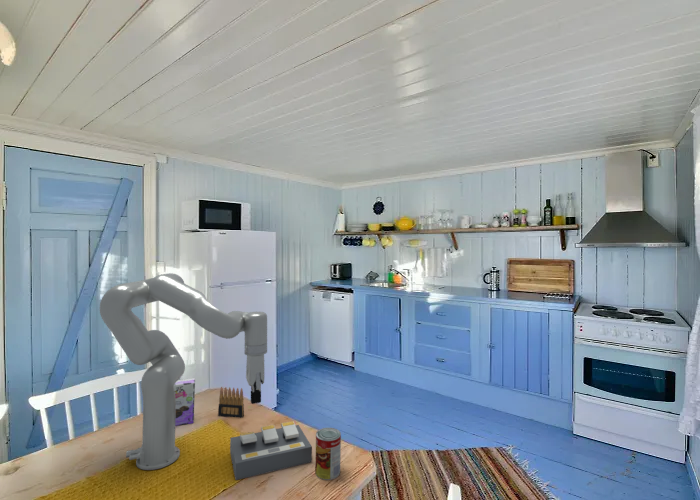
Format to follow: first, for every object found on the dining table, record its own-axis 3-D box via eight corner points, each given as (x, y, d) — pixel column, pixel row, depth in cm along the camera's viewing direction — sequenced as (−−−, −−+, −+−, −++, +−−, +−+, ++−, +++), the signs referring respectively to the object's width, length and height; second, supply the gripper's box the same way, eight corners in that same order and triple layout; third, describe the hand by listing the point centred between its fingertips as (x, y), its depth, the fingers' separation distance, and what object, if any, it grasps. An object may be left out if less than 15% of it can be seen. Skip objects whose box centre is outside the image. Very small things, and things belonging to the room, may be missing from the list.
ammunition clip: (244, 416, 147) (244, 387, 147) (242, 418, 145) (242, 389, 145) (220, 414, 148) (220, 385, 148) (217, 416, 146) (218, 387, 146)
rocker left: (242, 443, 112) (242, 439, 112) (240, 438, 118) (240, 434, 118) (256, 441, 114) (256, 436, 114) (253, 435, 120) (253, 431, 120)
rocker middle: (264, 443, 115) (265, 440, 114) (261, 430, 121) (261, 426, 121) (278, 440, 116) (278, 437, 116) (273, 427, 123) (274, 424, 123)
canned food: (323, 461, 115) (324, 425, 115) (344, 469, 111) (345, 431, 112) (310, 475, 108) (310, 436, 108) (332, 483, 104) (332, 442, 105)
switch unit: (235, 480, 105) (235, 459, 105) (230, 452, 120) (230, 433, 120) (311, 461, 115) (311, 442, 115) (298, 438, 129) (298, 421, 130)
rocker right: (285, 439, 118) (286, 435, 117) (281, 426, 124) (281, 423, 124) (298, 436, 119) (298, 433, 119) (293, 424, 126) (293, 420, 125)
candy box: (154, 429, 134) (155, 386, 134) (156, 422, 140) (157, 381, 140) (193, 423, 139) (194, 382, 140) (194, 417, 145) (195, 377, 145)
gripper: (241, 344, 125) (241, 396, 124) (247, 355, 111) (247, 413, 111) (263, 342, 128) (263, 392, 128) (271, 352, 114) (271, 409, 114)
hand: (255, 402), depth 119 cm, fingers closed
